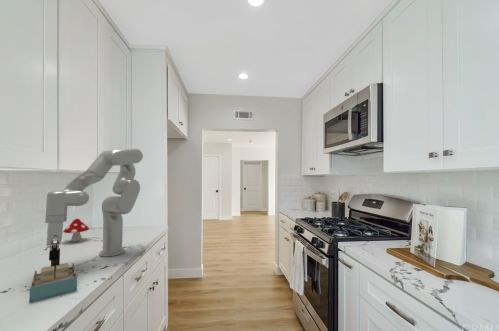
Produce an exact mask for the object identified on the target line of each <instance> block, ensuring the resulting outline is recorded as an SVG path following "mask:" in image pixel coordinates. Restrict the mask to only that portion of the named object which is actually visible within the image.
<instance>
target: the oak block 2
mask: <svg viewBox="0 0 499 331" xmlns="http://www.w3.org/2000/svg"><path fill="white" fill-rule="evenodd" d="M62 264H63V265H57V266H56V279H57V278H62V277H66V276H68V269H69V267H70V265H69V263H68V264H65V263H62Z"/></svg>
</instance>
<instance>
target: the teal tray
mask: <svg viewBox="0 0 499 331" xmlns="http://www.w3.org/2000/svg"><path fill="white" fill-rule="evenodd" d="M77 289H78V276H76V277H73V278H69V279H64V280H60V281H55V282H51V283H47V284H42V285H38V286H33V287H32V286H30V287H29V303H34V302H37V301H42V300H44V299H48V298H52V297H55V296H61V295H64V294H68V293H72V292H76V291H77Z"/></svg>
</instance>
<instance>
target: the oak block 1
mask: <svg viewBox="0 0 499 331" xmlns="http://www.w3.org/2000/svg"><path fill="white" fill-rule="evenodd" d="M46 267H47V268H44V267H41V269H40V273H41V282H44V281H48V280H53V279H54V266H52V267H49V266H46Z"/></svg>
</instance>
